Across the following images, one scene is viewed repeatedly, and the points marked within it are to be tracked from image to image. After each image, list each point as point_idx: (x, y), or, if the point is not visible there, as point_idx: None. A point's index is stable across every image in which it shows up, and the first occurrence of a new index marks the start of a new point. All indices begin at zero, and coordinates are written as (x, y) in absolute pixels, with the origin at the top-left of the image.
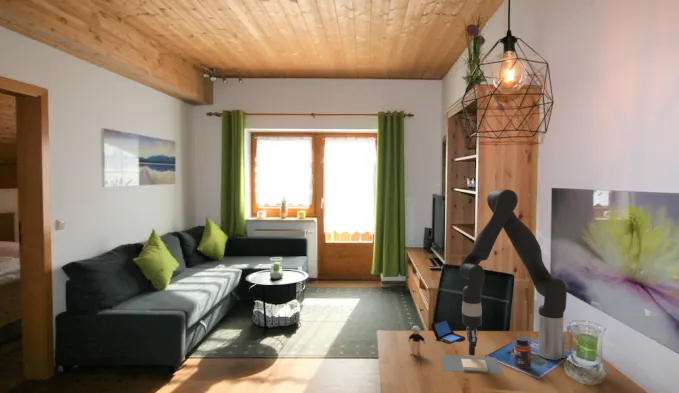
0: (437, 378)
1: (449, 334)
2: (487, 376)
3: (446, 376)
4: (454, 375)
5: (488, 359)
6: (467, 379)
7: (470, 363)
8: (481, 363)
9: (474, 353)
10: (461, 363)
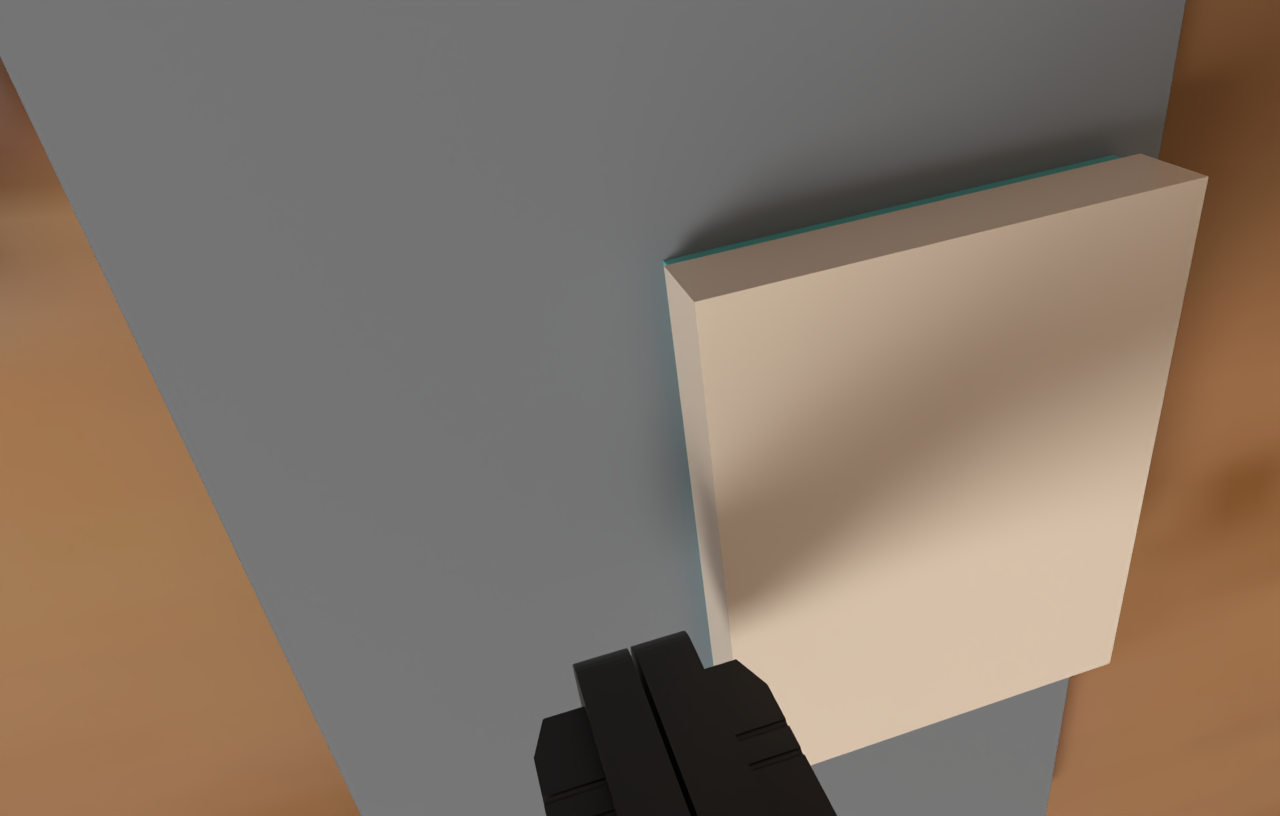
0: (1179, 792)
1: None
2: (1172, 135)
3: (1135, 732)
4: (1110, 660)
5: (266, 153)
6: (1245, 475)
7: (968, 585)
8: (943, 360)
9: (705, 672)
10: None
